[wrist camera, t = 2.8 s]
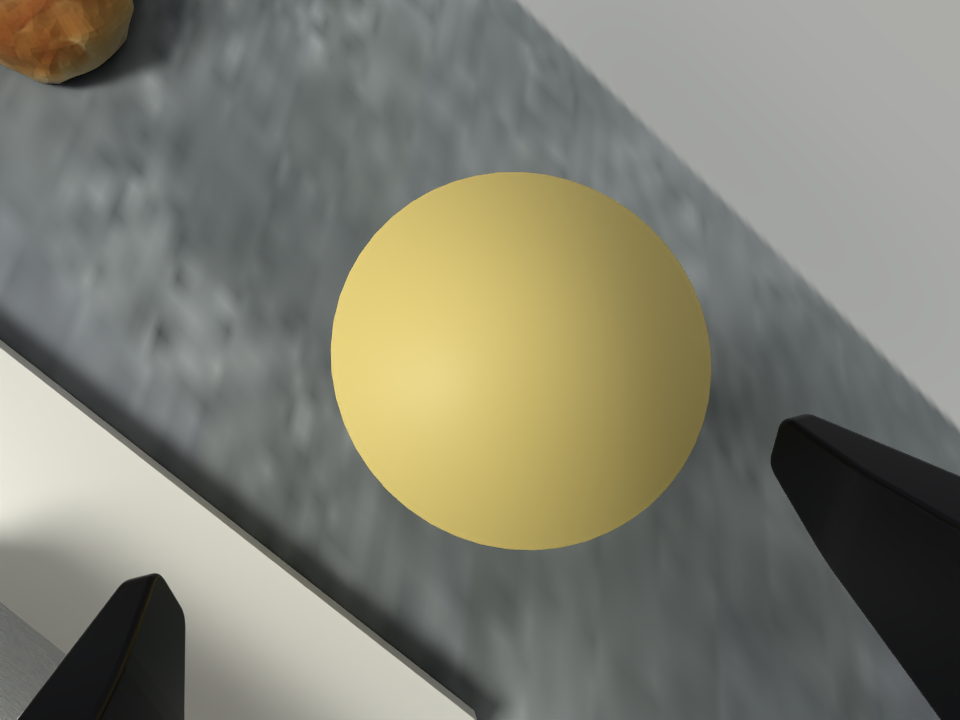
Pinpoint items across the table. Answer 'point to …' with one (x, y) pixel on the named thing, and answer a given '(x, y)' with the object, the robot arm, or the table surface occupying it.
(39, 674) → the metal collar
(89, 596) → the base plate
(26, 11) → the pastry
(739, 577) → the table surface
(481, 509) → the pin
